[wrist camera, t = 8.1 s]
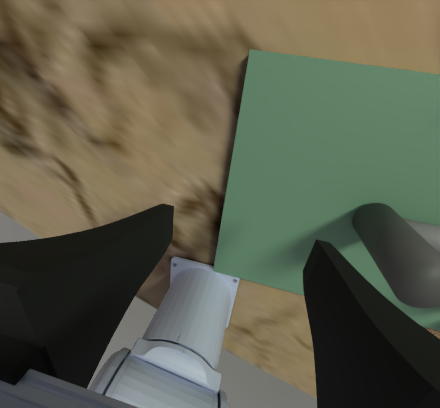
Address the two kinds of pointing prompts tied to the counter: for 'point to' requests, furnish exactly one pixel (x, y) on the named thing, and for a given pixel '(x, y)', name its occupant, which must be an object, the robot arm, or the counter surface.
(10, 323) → the robot arm
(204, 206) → the counter surface
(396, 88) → the board
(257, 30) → the counter surface
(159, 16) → the counter surface
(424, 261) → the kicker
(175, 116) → the counter surface
